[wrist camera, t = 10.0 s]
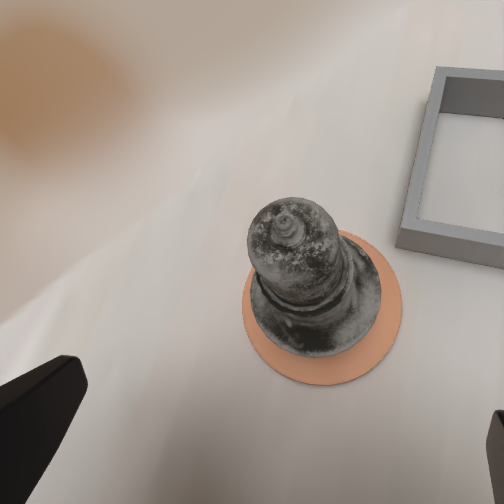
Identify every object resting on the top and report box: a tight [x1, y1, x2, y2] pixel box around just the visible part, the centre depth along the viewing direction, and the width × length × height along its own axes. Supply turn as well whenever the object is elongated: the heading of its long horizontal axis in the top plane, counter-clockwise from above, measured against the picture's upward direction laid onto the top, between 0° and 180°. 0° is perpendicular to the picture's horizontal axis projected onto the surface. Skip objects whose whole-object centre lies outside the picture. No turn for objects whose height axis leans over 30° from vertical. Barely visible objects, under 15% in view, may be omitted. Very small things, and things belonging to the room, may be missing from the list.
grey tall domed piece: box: [247, 197, 382, 358], centre depth 16 cm, size 6×6×12 cm
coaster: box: [242, 230, 402, 385], centre depth 22 cm, size 8×8×1 cm
